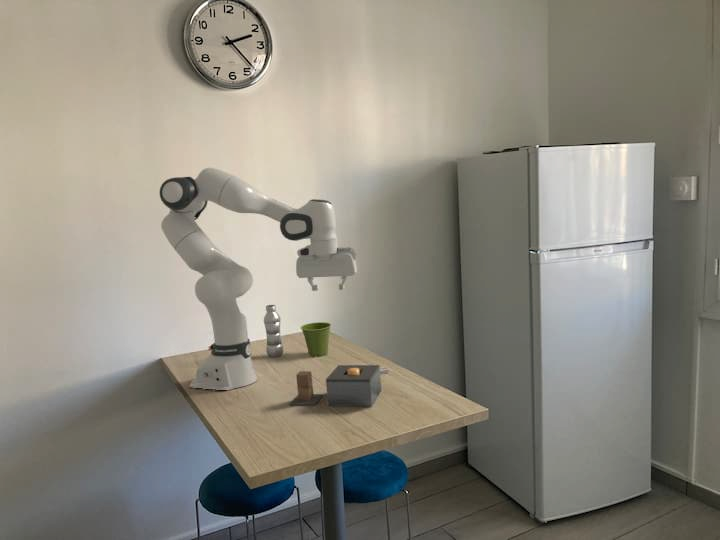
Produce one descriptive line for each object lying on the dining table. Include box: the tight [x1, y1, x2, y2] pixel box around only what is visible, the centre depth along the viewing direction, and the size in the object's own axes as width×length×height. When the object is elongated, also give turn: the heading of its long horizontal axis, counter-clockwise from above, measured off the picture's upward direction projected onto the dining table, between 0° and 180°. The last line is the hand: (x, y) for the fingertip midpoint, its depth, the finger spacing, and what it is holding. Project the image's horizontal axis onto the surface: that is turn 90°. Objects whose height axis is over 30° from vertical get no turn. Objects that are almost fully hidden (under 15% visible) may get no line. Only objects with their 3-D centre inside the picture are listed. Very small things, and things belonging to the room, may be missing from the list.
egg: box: [347, 368, 360, 375], centre depth 168 cm, size 4×4×6 cm
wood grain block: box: [295, 370, 314, 401], centre depth 169 cm, size 4×4×8 cm
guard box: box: [325, 364, 382, 408], centre depth 168 cm, size 13×13×8 cm
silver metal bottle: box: [263, 304, 284, 358], centre depth 220 cm, size 6×7×20 cm
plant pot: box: [300, 321, 332, 357], centre depth 218 cm, size 12×12×11 cm
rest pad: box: [288, 393, 324, 407], centre depth 170 cm, size 8×8×1 cm
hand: (328, 289), depth 188 cm, fingers open, 8 cm apart
